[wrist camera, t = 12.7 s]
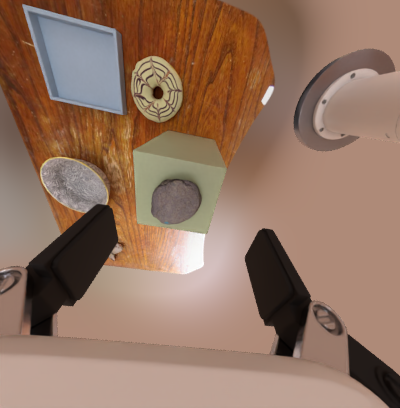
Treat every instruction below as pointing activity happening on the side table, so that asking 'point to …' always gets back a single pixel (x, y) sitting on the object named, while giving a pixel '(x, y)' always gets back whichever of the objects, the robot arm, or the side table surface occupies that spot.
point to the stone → (175, 201)
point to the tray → (79, 60)
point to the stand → (178, 175)
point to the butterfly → (115, 251)
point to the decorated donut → (145, 84)
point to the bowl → (75, 183)
